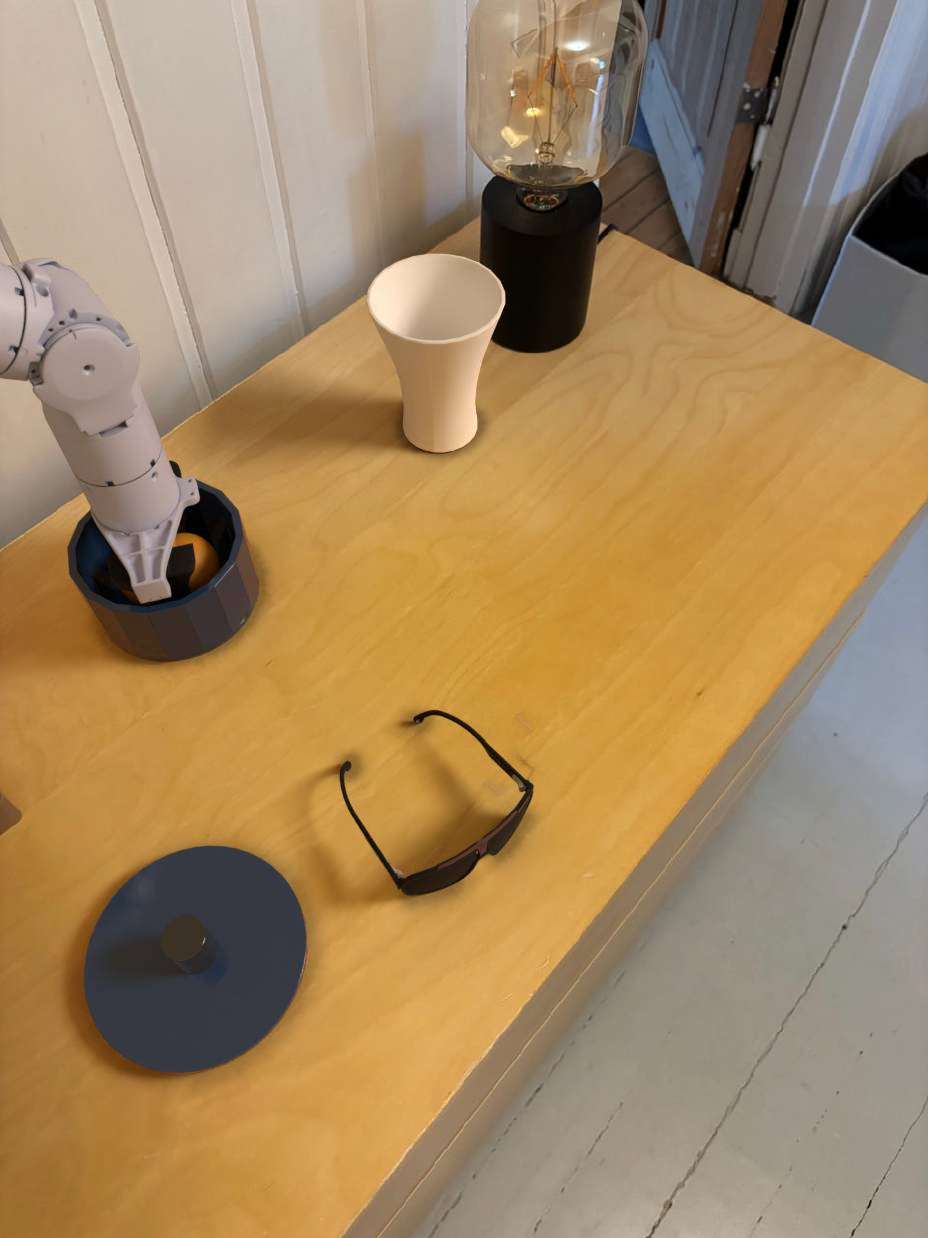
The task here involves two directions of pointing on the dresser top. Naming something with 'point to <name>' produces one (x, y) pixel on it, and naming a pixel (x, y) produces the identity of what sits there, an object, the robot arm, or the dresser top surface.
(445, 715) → the sunglasses
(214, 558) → the orange banded oval part
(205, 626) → the pot
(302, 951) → the lid
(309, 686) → the dresser top surface
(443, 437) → the cup
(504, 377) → the dresser top surface
